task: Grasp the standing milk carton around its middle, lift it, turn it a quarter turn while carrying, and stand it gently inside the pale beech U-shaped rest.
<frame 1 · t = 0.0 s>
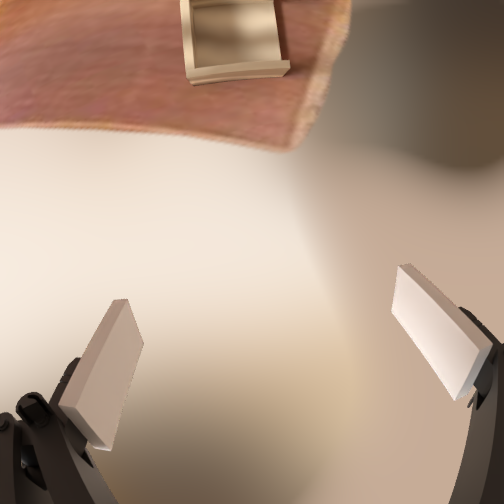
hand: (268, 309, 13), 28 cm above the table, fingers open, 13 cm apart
u rest: (236, 38, 31), on the table
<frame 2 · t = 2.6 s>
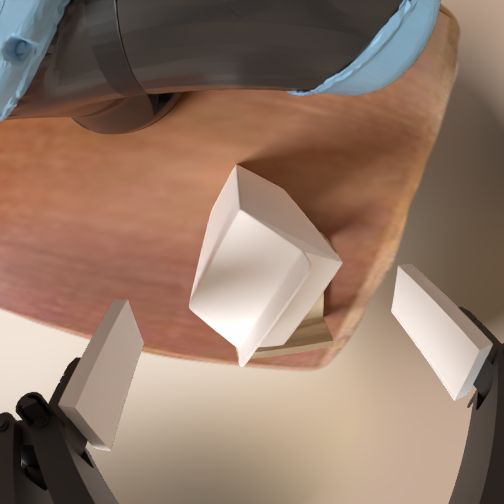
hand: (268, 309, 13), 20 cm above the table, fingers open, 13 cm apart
milk: (247, 199, 32), on the table
u rest: (280, 284, 37), on the table
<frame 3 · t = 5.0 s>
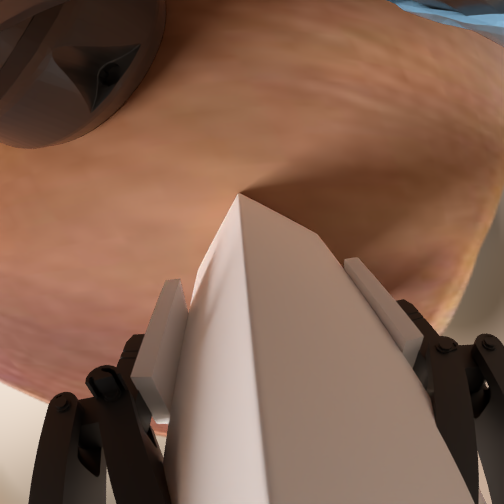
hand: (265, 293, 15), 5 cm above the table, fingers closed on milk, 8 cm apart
milk: (257, 250, 20), on the table, touching gripper
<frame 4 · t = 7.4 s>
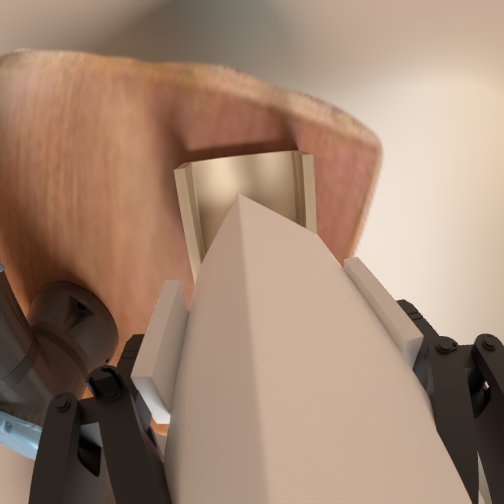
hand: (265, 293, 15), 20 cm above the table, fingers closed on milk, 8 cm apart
milk: (257, 251, 20), point 14 cm above the table, touching gripper
u rest: (246, 201, 33), on the table
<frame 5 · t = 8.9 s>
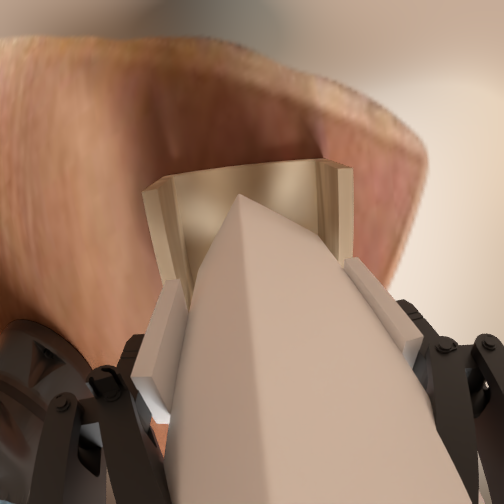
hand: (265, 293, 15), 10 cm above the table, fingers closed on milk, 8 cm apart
milk: (257, 251, 20), point 4 cm above the table, touching gripper
u rest: (251, 229, 24), on the table
when the fingers open (8 cm above the table, at t = 10.2 s): milk drops 2 cm, resting on u rest.
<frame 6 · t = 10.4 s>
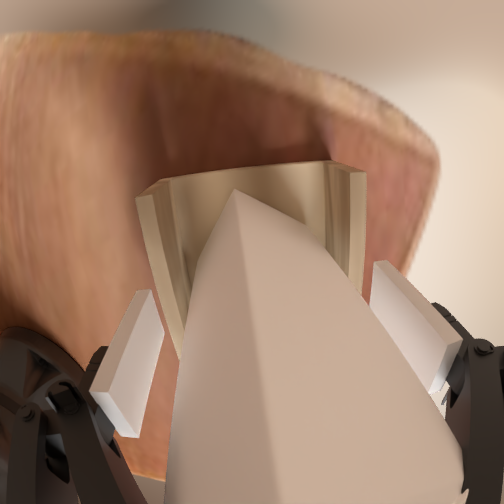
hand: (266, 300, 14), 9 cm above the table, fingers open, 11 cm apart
milk: (251, 241, 22), point 1 cm above the table, touching u rest
u rest: (254, 236, 22), on the table
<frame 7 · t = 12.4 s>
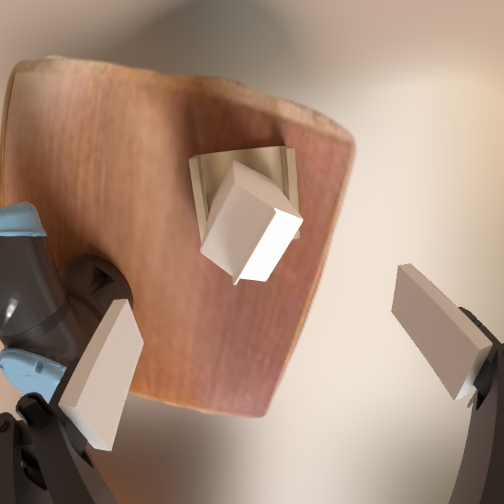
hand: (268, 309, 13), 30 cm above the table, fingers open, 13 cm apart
milk: (242, 188, 40), point 1 cm above the table, touching u rest
u rest: (244, 186, 41), on the table
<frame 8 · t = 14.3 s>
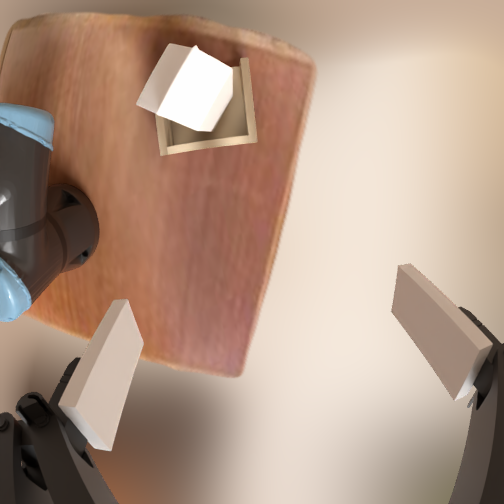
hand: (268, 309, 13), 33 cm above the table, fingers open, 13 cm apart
milk: (204, 105, 38), point 1 cm above the table, touching u rest
u rest: (206, 105, 38), on the table
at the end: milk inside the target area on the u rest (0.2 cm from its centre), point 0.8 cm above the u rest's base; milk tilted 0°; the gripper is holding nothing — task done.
